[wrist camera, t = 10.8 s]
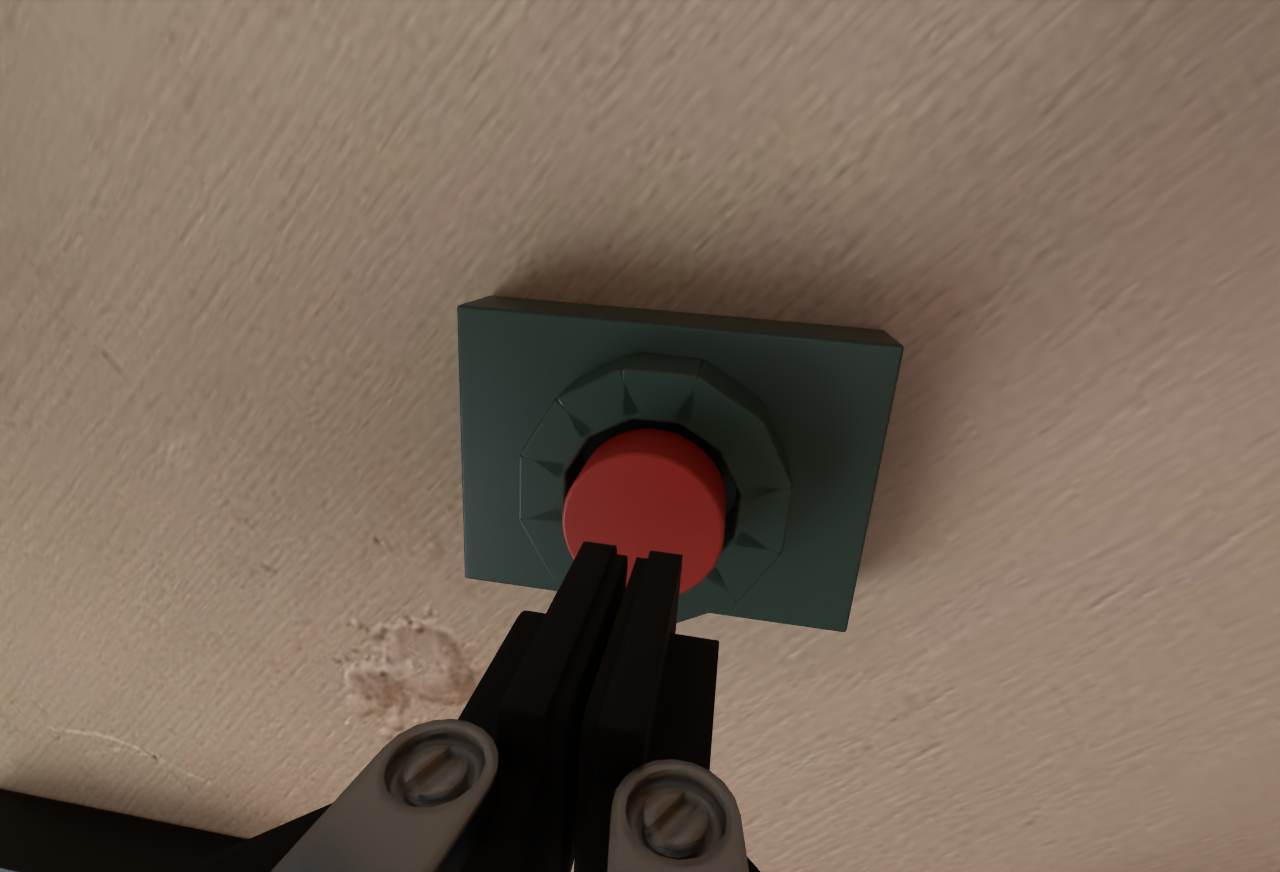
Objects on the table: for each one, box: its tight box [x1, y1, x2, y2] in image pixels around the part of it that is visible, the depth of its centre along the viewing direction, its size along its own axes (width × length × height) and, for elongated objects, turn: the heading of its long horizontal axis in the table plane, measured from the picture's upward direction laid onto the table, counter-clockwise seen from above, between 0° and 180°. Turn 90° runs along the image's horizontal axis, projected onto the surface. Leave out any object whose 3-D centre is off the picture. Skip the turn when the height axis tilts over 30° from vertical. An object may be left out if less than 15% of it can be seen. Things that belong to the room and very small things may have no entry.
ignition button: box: [562, 428, 726, 594], centre depth 15 cm, size 4×4×2 cm
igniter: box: [457, 296, 904, 632], centre depth 17 cm, size 11×8×4 cm
